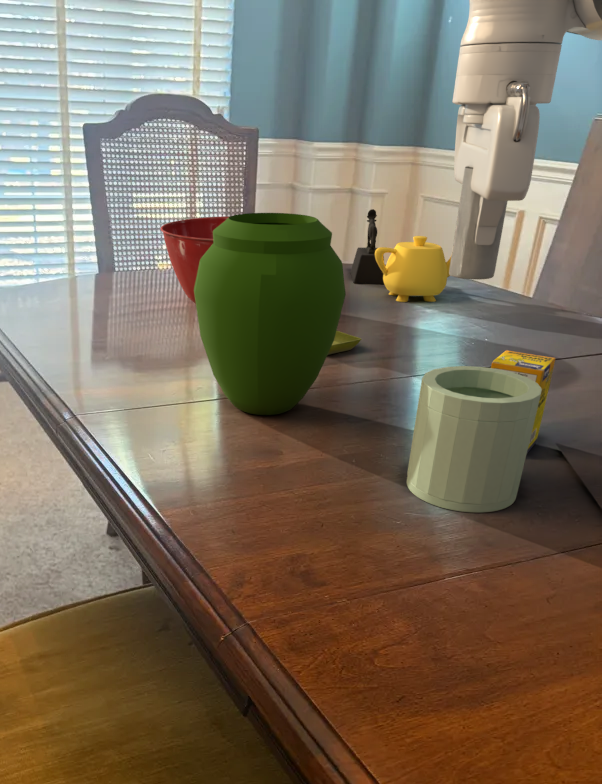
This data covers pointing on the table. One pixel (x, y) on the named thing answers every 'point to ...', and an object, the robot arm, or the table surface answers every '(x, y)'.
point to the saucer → (343, 342)
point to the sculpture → (367, 258)
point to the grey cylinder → (466, 253)
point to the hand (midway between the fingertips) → (477, 239)
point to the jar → (471, 437)
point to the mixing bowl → (189, 247)
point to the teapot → (414, 269)
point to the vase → (268, 307)
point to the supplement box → (534, 370)
